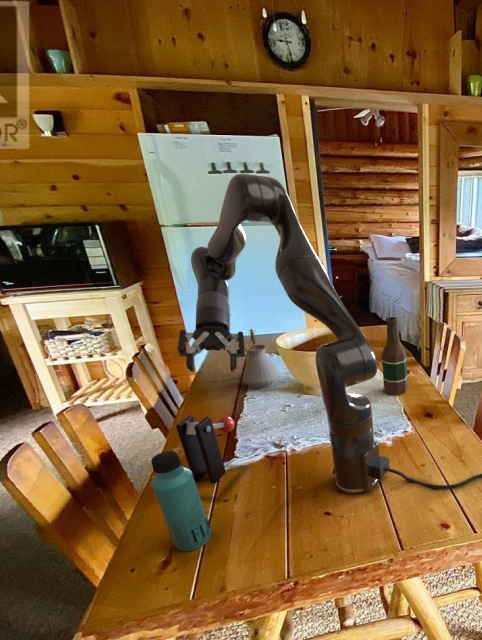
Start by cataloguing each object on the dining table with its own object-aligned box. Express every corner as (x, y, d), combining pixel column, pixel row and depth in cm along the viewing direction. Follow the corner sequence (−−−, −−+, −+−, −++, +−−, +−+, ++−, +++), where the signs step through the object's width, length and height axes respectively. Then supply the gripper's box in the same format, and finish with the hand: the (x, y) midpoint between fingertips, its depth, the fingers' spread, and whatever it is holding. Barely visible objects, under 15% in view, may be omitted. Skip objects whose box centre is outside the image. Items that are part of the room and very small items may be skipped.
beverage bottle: (199, 560, 79) (166, 469, 70) (167, 555, 80) (131, 464, 71) (222, 535, 85) (195, 447, 76) (192, 530, 86) (162, 443, 77)
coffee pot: (283, 387, 146) (275, 344, 139) (245, 393, 142) (235, 349, 135) (275, 365, 163) (268, 326, 156) (242, 370, 159) (233, 330, 152)
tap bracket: (206, 465, 106) (189, 407, 99) (245, 467, 105) (231, 409, 98) (174, 496, 95) (151, 434, 88) (217, 500, 94) (198, 436, 87)
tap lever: (223, 430, 107) (223, 416, 107) (237, 431, 106) (238, 416, 106) (183, 437, 93) (183, 420, 92) (199, 437, 92) (199, 420, 92)
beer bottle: (412, 388, 144) (410, 317, 134) (398, 397, 139) (394, 323, 128) (394, 383, 148) (389, 313, 137) (379, 391, 142) (373, 319, 131)
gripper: (177, 303, 104) (174, 361, 98) (243, 306, 110) (244, 361, 103) (183, 322, 111) (180, 378, 104) (245, 324, 116) (246, 377, 110)
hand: (212, 370), depth 104 cm, fingers open, 8 cm apart
